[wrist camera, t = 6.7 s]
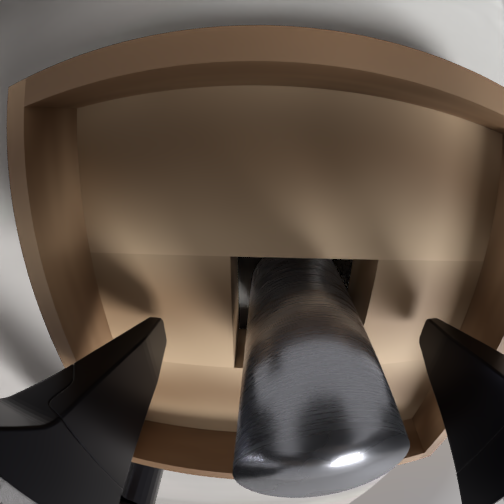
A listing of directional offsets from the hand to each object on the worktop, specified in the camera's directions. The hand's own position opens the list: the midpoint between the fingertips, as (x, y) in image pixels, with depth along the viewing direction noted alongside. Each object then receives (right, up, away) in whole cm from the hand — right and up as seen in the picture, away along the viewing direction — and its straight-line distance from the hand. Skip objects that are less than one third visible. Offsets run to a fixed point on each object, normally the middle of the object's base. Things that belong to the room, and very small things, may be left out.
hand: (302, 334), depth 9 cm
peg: (0, +1, +3) cm, 3 cm away
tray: (0, +1, +3) cm, 3 cm away
